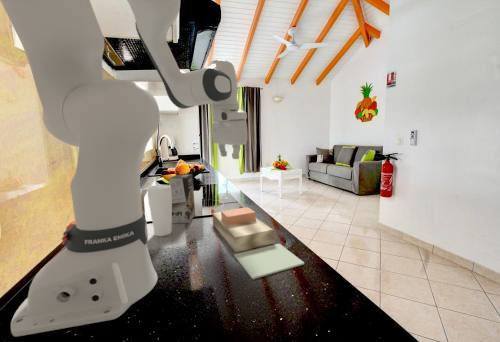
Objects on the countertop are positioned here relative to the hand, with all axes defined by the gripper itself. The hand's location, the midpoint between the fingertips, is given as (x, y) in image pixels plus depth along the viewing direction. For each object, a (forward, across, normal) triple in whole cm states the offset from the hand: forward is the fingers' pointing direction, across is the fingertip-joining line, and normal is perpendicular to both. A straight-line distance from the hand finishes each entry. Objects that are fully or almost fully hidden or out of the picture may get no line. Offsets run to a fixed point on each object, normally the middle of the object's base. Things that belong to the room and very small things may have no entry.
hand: (229, 157), depth 79 cm
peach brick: (+17, +10, -3) cm, 20 cm away
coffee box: (+22, -12, -15) cm, 29 cm away
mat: (+21, +29, -5) cm, 36 cm away
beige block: (+22, +11, -4) cm, 25 cm away
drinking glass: (+21, -2, -24) cm, 32 cm away
